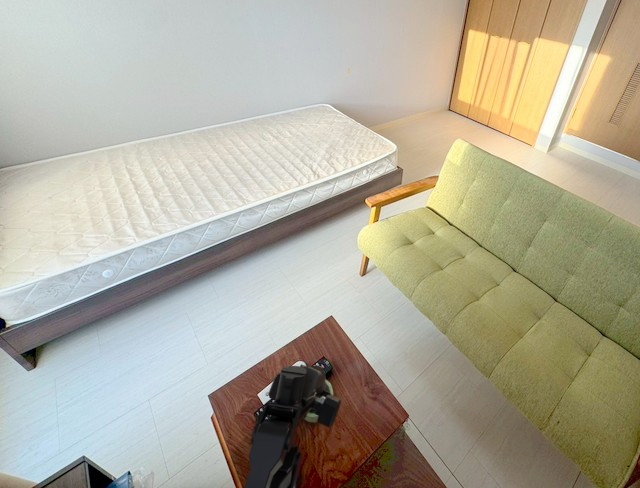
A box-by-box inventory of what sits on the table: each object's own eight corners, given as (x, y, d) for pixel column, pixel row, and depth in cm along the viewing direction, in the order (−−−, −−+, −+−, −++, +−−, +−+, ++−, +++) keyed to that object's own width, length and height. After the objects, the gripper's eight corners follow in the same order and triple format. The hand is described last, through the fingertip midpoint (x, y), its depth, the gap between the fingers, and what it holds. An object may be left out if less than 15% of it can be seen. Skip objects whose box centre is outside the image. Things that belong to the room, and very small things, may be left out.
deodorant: (325, 410, 88) (324, 388, 79) (304, 412, 87) (301, 390, 78) (326, 387, 92) (325, 364, 84) (306, 389, 91) (303, 366, 83)
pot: (310, 431, 85) (310, 425, 83) (292, 401, 90) (291, 395, 88) (339, 403, 92) (339, 397, 89) (320, 376, 97) (320, 370, 94)
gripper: (338, 394, 71) (356, 369, 86) (270, 362, 74) (299, 343, 90) (320, 444, 69) (342, 410, 84) (252, 409, 73) (285, 382, 88)
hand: (317, 385), depth 86 cm, fingers closed on deodorant, 6 cm apart
